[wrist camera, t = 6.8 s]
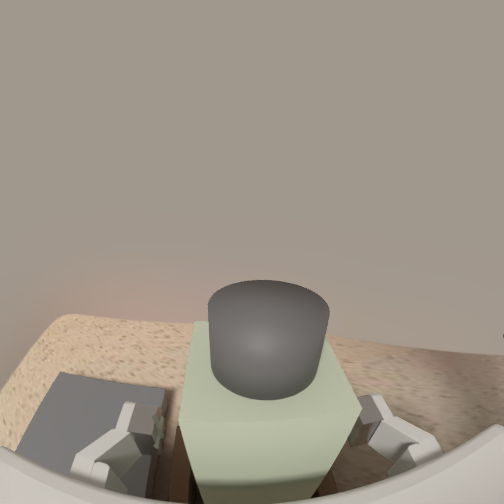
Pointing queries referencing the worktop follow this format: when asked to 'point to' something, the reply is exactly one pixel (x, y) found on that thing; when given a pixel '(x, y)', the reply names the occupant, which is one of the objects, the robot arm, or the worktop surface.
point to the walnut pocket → (185, 481)
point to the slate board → (87, 425)
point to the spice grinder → (264, 395)
